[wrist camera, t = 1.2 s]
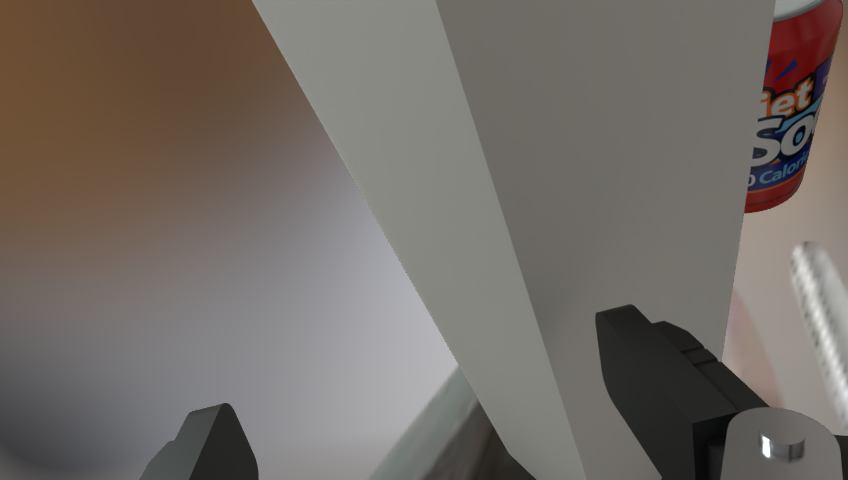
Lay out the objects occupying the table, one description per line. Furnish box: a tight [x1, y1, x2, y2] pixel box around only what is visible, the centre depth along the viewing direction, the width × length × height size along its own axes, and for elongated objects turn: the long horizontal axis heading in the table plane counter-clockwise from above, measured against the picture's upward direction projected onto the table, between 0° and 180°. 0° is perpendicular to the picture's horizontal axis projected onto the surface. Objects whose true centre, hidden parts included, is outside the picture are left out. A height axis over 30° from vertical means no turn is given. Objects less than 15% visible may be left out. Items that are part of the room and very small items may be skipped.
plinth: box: [252, 0, 776, 480], centre depth 20 cm, size 7×10×32 cm
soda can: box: [744, 0, 843, 213], centre depth 34 cm, size 8×8×15 cm
